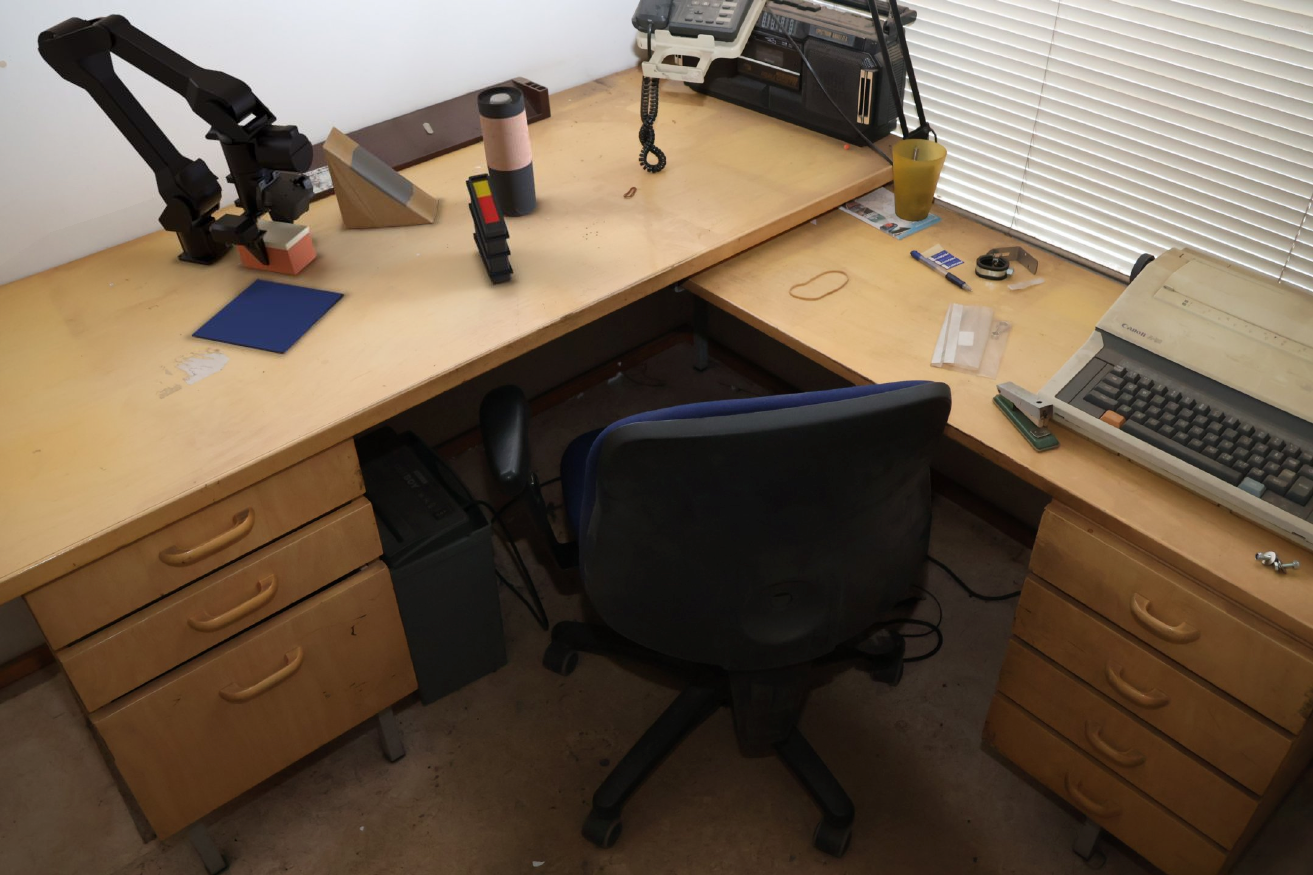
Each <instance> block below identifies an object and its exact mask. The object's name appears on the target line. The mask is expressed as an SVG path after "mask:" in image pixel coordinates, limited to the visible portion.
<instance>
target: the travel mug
mask: <svg viewBox="0 0 1313 875" xmlns="http://www.w3.org/2000/svg"><path fill="white" fill-rule="evenodd" d="M476 100H477V102H476V103H477V108H478V113H479V120H480V121H479V123H480V128H481V134H482V141H483V147H484V155H485V161H486V167H487V172H488V175H489V176H490V178H491V181H492V184H493V187H494V190H495V193H496V196H497V199H498V202H499V205H500V208H501V211H502V214H503V217H509V218H517V217H523V216H526V215H529V214H531V213H532V212H533V211H535V210H536V208H537V194H536V184H535V175H534V164H533V155H532V148H531V140H530V134H529V126H528V119H527V113H526V112H527V111H526V105H525V98H524V92H523V91H522V90H521V89H520V88H517V87H515V86H508V85H506V86H503V85H502V86H501V85H500V86H495V87H494V86H493V87H489V88H487V89H484V90H481V92H479V93H478V94H477V97H476Z"/></svg>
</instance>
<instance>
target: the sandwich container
mask: <svg viewBox="0 0 1313 875" xmlns="http://www.w3.org/2000/svg"><path fill="white" fill-rule="evenodd" d="M322 151H323V155H324V159H325V162H326V165H327V166H326V167H327V169H328V173H329V176H330V180H331V183H332V186H333V191H334V194H335V198H336V201H337V205H338V209H339V212H340V215H341V218H342V222H343V226H344V229H346V230H347V229H349V230H351V229H369V228H387V227H401V226H402V227H403V226H413V225H427V224H428V225H429V224H434V221H435V218H436V215H437V212H438V206H439V200H438V199H436V198H435V197H434V196H432V195H430V194H429V193H428V192H426V191H425V190H424V189H422V188H420V187H419V186H418V185H416V184H415V183H413V182H412V181H410V180H409V179H408V178H406V177H405V176H403V175H402V174H400V173H399V172H398V171H397V170H395V169H393V168H392V167H390V165H388V164H387V163H385V162H383V161H382V160H381V159H380V158H378V157H376V155H373V154H372V153H371V152H370V151H368V150H367V149H365V148H364V147H363V146H362V145H360V144H359V143H357V142H356V141H354V140H353V139H352V138H351V137H349V136H347V134H345V133H343V132H342V131H341V130H340V129H338V128H337V127H336V126H332V127H331V129H330V131H329V133H328V135H327V138H326V140H325V141H324V143H323V145H322Z"/></svg>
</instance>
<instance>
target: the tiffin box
mask: <svg viewBox="0 0 1313 875" xmlns="http://www.w3.org/2000/svg"><path fill="white" fill-rule="evenodd" d="M258 225H259V228H260V229H261V230H267V233H266V234H265V236H264V237H263V240H264V243H265V247H266V251H267V254H268V258H269V265H268V266H266V265H263V264H262V263H261V262H260V261H259V260H258V259H256V258H255V257H254V256H253V255H252V254H251V253H250V252H249V251H248V250H247V249H246V248H245V247H244V246H243V245H242V246H240V245H235V247H236V250H237V252H238V256H239V257H240V260H241V263H242V266H243V268H249V269H254V270H255V269H256V270H262V271H268V272H275V273H280V274H286V275H292V276H296V275H297V274H299V272H302V270H303V269H304V268H306V266H308V265H309V264H310V263H311V262H312V261H314V259H316V257H317V255H316V251H315V248H314V244H313V241H312V238H311V233H310V228H309V226H308V225H301V224H296V223H294V224H290V223H283V222H276V221H272V220H269V219H262V218H260V219H259V220H258Z"/></svg>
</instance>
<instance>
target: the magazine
mask: <svg viewBox="0 0 1313 875" xmlns="http://www.w3.org/2000/svg"><path fill="white" fill-rule="evenodd" d="M465 185H466V189H467V192H468V194H469V195H468V196H469V197H470V198H469V199H470V202H468V210H469V212H470V215H471V218H472V221H473V226H474V227H473V228H474V232H472V236H473V240H474V243H475V245H476V247H477V250H478V253H479V256H480V258H481V261H482V263H483V265H484V268H485V270H486V272H487V276H488V278H489V279H490V281H491V283H492V285H498V284H503V283H508V282H511V281H512V274H514V269H513V267H512V265H511V262H510V259H509V256H511V255H512V252H511V249H510V246H509V244H508V240H509V239H510V238H511V237H510V233H509V230H508V226H507V224H506V221H505V216H503V214H502V211H501V208H500V205H499V202H498V199H497V196H496V193H495V190H494V187H493V184H492V181H491V178H490V176H489V173H486V172H484V173H480V174H475V175H470V176H468V179H467V180H465Z"/></svg>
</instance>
